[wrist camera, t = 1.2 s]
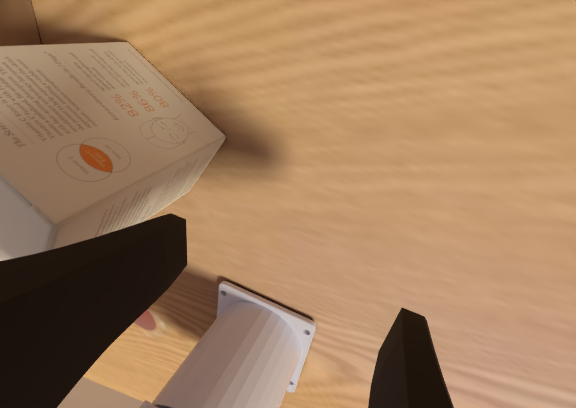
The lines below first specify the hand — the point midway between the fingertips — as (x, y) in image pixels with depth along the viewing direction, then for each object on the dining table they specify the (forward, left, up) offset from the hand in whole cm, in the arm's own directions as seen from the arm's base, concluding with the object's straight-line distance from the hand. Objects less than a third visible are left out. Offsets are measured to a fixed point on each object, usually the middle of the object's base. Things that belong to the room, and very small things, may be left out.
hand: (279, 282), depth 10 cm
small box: (0, +12, -9) cm, 15 cm away
